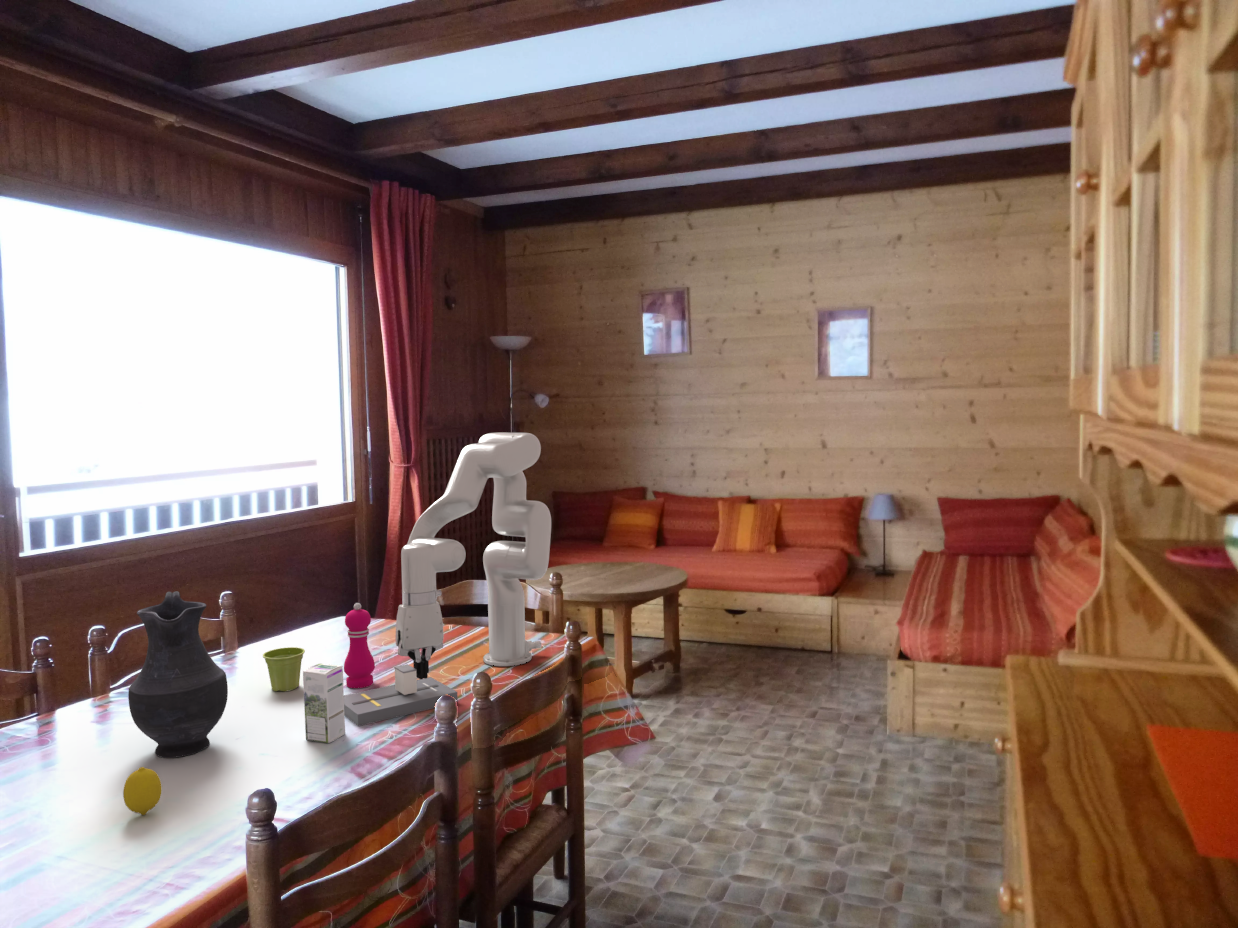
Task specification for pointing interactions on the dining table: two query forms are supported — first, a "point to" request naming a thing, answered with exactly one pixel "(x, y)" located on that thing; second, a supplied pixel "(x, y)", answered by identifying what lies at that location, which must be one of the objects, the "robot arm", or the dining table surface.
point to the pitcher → (177, 680)
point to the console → (393, 701)
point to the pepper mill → (358, 649)
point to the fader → (405, 679)
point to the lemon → (142, 790)
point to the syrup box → (324, 703)
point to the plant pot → (284, 667)
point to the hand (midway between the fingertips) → (421, 677)
